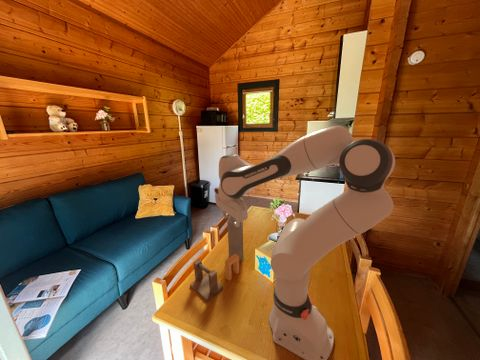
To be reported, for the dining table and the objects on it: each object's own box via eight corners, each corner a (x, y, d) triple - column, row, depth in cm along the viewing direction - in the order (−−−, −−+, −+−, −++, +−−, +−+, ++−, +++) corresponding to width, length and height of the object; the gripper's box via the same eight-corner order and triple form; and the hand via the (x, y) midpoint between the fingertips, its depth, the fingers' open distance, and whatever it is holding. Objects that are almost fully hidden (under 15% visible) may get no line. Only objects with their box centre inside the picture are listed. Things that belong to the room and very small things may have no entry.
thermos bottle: (244, 252, 113) (243, 207, 105) (241, 262, 106) (240, 215, 98) (230, 251, 115) (229, 206, 106) (227, 260, 108) (225, 213, 99)
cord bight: (239, 272, 99) (238, 255, 96) (229, 280, 94) (228, 263, 91) (235, 270, 101) (235, 253, 98) (225, 278, 96) (224, 260, 93)
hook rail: (223, 288, 90) (222, 268, 87) (207, 301, 84) (205, 280, 80) (205, 274, 98) (204, 255, 95) (190, 286, 92) (187, 266, 88)
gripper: (251, 198, 78) (251, 229, 82) (224, 184, 94) (225, 211, 98) (238, 202, 74) (238, 234, 79) (212, 187, 90) (213, 214, 95)
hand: (230, 221), depth 88 cm, fingers open, 8 cm apart
